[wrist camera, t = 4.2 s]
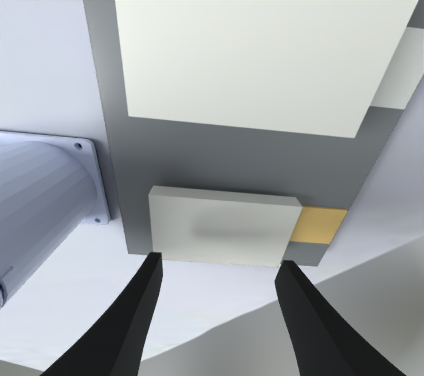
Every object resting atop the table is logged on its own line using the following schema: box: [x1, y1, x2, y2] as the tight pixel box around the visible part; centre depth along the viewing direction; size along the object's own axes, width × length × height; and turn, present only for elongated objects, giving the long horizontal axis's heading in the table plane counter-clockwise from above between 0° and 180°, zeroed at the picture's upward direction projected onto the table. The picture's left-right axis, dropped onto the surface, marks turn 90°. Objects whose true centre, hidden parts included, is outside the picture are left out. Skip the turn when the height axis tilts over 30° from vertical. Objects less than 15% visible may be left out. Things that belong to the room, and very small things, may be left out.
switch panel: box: [83, 0, 424, 266], centre depth 11 cm, size 18×32×2 cm, turn 175°
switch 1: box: [115, 0, 418, 138], centre depth 7 cm, size 10×6×1 cm, turn 85°
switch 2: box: [148, 186, 303, 267], centre depth 14 cm, size 10×6×1 cm, turn 85°
